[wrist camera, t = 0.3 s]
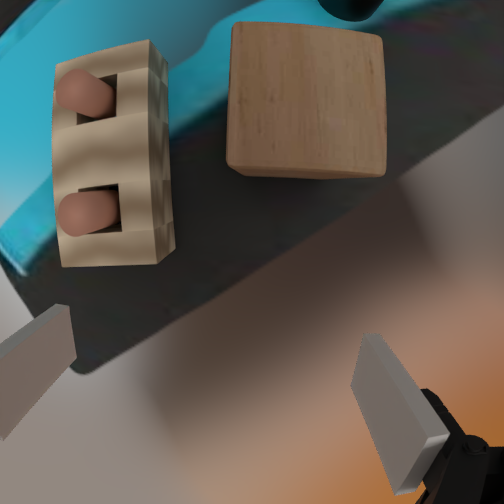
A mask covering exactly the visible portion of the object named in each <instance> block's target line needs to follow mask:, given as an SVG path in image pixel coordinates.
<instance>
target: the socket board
mask: <svg viewBox="0 0 504 504" xmlns="http://www.w3.org/2000/svg"><path fill="white" fill-rule="evenodd" d="M73 69H83V70H85V71H87V72H88V73H90V74H92V75H93V76H95V77H97V78H98V79H100V80H102V81H103V82H105V83H107V84H108V85H110V86H111V87H113V88H115V89H116V90H117V109H116V117H113V118H108V119H103V120H98V119H95V118H92V117H89V116H86V115H83V114H81V113H78V112H75V111H72V110H69V109H66V108H63V107H61V106H60V105H59V104H58V103H57V101H56V96H55V93H56V88H57V85H58V83H59V81H60V79H61V78H62V77H63V76H64V75H65V74H66V73H67V72H69V71H71V70H73ZM52 173H53V192H54V205H55V216H56V226H57V235H58V242H59V250H60V257H61V263H62V267H82V266H113V265H142V264H158V263H159V262H160V261H161V260H162V259H164V258H165V257H166V256H167V255H168V254H170V253H171V252H172V251H173V250H174V249H176V248H175V236H174V224H173V211H172V196H171V179H170V158H169V130H168V63H167V61H166V60H165V59H164V57H163V56H162V55H161V53H160V52H159V51H158V50H157V48H156V47H155V46H154V45H153V43H152V42H151V41H150V39H148V40H143V41H138V42H133V43H129V44H125V45H120V46H116V47H112V48H108V49H105V50H101V51H97V52H94V53H90V54H87V55H84V56H80V57H77V58H74V59H71V60H68V61H65V62H62V63H59V64H56V70H55V80H54V93H53V111H52ZM111 186H119V201H120V213H121V224H118V225H112V226H109V227H106V228H103V229H100V230H97V231H94V232H91V233H88V234H85V235H82V236H79V237H72V236H69V235H68V234H66V233H65V232H64V231H63V230H62V228H61V227H60V225H59V222H58V215H57V213H58V207H59V204H60V202H61V200H62V199H63V198H64V197H65V196H66V195H68V194H70V193H78V192H89V191H101V190H109V187H111Z"/></svg>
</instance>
